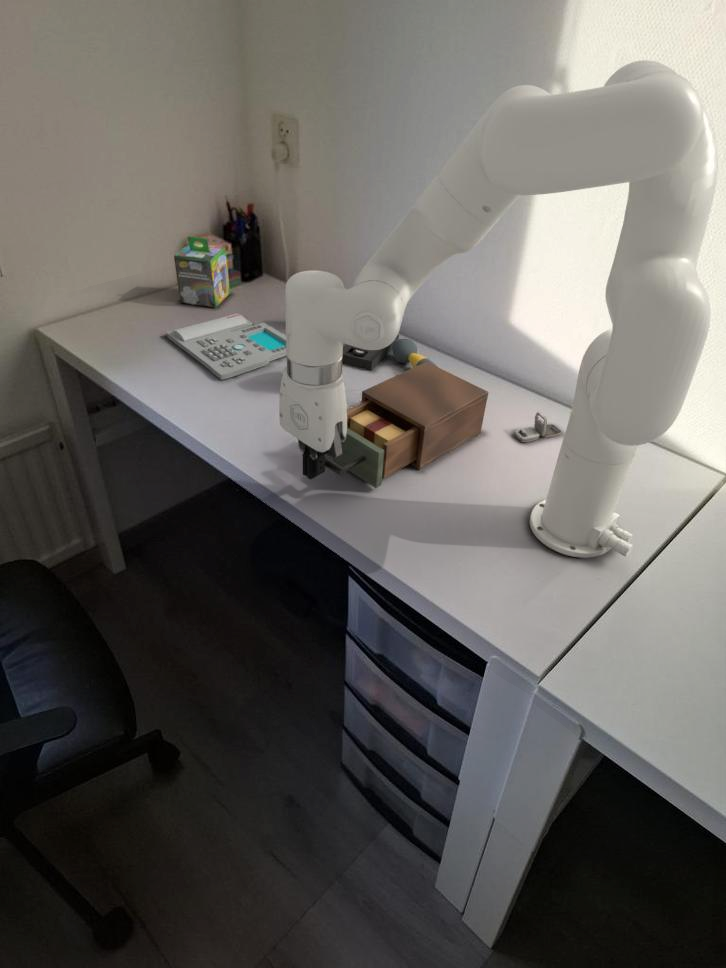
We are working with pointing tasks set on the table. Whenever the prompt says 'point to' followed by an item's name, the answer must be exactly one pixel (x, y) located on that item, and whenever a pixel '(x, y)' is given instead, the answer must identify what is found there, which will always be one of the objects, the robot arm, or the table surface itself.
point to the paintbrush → (408, 353)
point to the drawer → (375, 448)
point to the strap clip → (537, 430)
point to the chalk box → (202, 273)
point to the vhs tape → (364, 356)
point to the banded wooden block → (374, 428)
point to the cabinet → (433, 408)
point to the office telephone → (230, 344)
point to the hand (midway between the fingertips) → (313, 473)
